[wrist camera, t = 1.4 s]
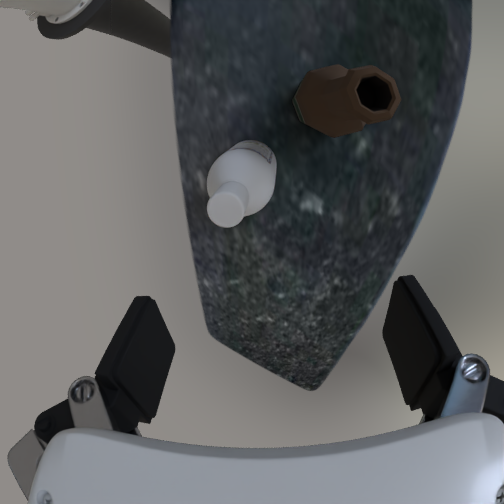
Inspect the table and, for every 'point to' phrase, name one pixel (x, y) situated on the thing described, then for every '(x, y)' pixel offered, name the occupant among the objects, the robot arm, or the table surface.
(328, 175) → the table surface
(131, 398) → the robot arm
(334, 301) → the table surface
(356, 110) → the beer bottle
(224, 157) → the bath foam
